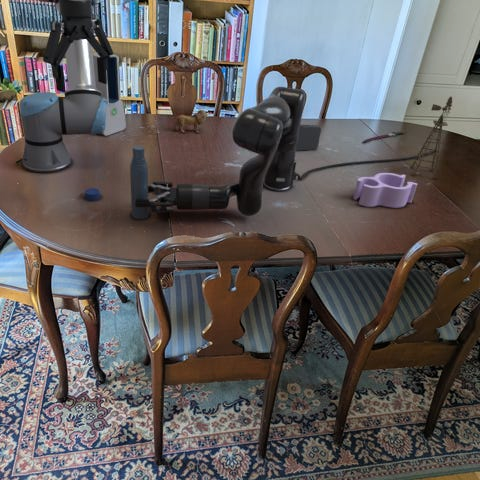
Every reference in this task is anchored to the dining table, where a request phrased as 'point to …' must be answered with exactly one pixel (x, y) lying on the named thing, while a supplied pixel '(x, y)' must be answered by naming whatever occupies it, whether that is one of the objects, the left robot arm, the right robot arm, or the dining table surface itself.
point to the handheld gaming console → (308, 137)
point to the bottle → (139, 182)
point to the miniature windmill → (439, 123)
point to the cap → (92, 194)
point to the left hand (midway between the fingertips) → (82, 86)
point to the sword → (382, 136)
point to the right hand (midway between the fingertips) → (136, 196)
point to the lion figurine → (191, 120)
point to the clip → (384, 190)
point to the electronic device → (111, 96)
